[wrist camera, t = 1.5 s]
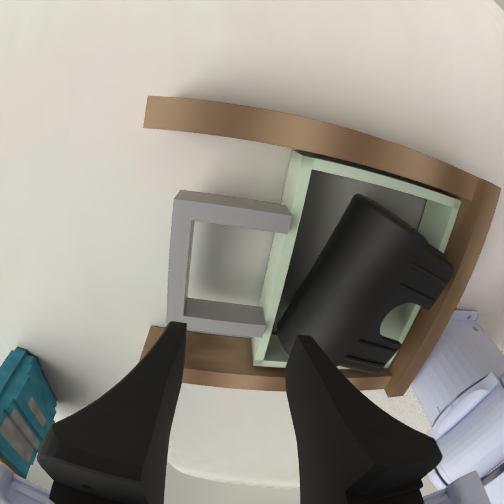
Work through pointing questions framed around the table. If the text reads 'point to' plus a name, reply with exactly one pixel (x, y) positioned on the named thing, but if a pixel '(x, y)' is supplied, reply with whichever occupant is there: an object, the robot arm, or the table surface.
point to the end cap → (364, 286)
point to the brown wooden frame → (354, 150)
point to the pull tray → (282, 252)
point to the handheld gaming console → (23, 410)
